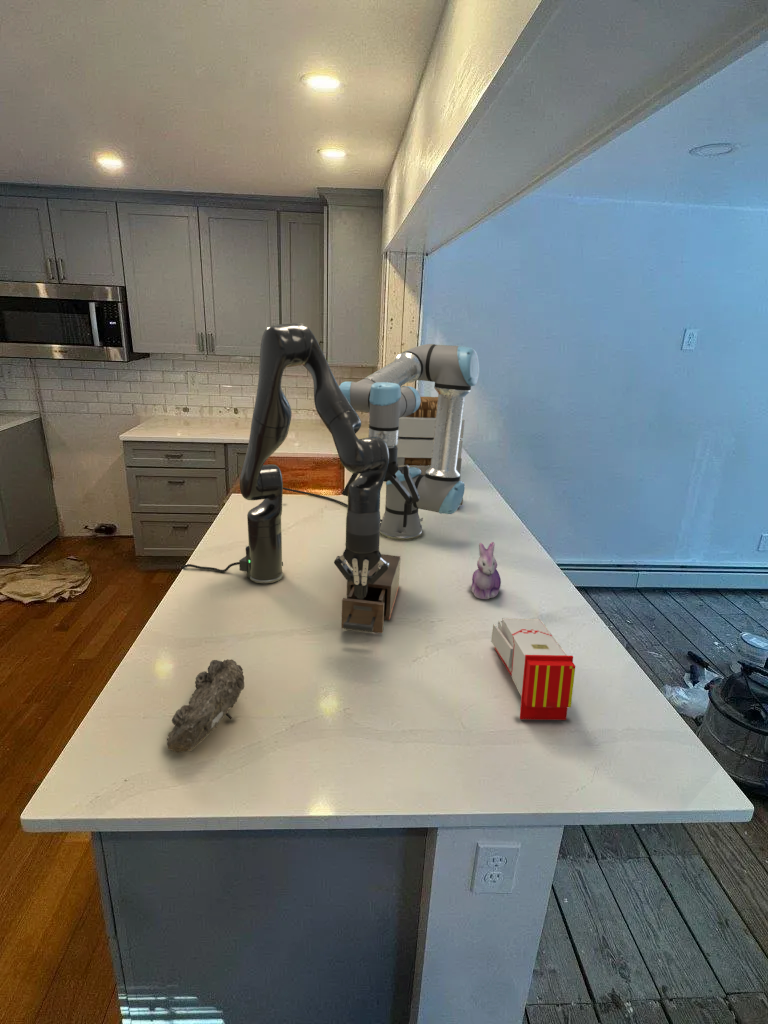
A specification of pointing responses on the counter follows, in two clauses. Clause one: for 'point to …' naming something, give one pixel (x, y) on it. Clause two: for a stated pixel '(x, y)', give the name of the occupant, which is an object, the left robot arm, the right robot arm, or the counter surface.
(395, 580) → the cabinet
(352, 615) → the drawer
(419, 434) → the white slatted crate
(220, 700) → the fossil
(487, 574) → the figurine
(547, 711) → the toy
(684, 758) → the counter surface
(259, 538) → the left robot arm
